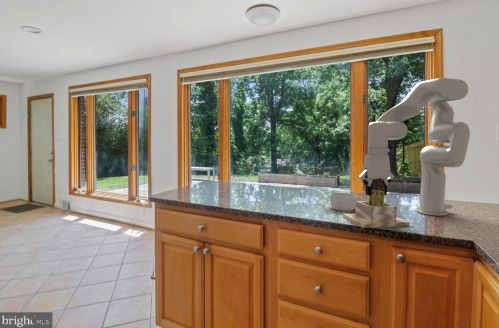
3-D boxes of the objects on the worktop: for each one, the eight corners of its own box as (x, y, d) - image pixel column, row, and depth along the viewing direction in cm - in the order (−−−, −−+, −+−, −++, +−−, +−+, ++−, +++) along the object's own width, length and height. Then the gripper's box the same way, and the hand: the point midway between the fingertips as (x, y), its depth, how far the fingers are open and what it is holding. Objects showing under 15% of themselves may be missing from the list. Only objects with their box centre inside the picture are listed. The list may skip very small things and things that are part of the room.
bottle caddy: (384, 215, 129) (385, 199, 129) (409, 225, 114) (410, 207, 113) (343, 217, 126) (343, 200, 126) (363, 228, 111) (364, 209, 110)
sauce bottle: (367, 218, 118) (368, 170, 116) (366, 214, 124) (367, 169, 122) (384, 219, 116) (385, 171, 114) (383, 215, 122) (384, 169, 120)
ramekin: (359, 212, 136) (359, 198, 135) (330, 211, 138) (330, 196, 138) (354, 206, 148) (355, 193, 148) (328, 205, 151) (328, 192, 151)
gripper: (390, 151, 123) (389, 192, 124) (353, 151, 120) (352, 194, 121) (402, 152, 115) (400, 195, 117) (363, 152, 113) (361, 197, 114)
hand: (376, 194), depth 119 cm, fingers closed on sauce bottle, 6 cm apart
